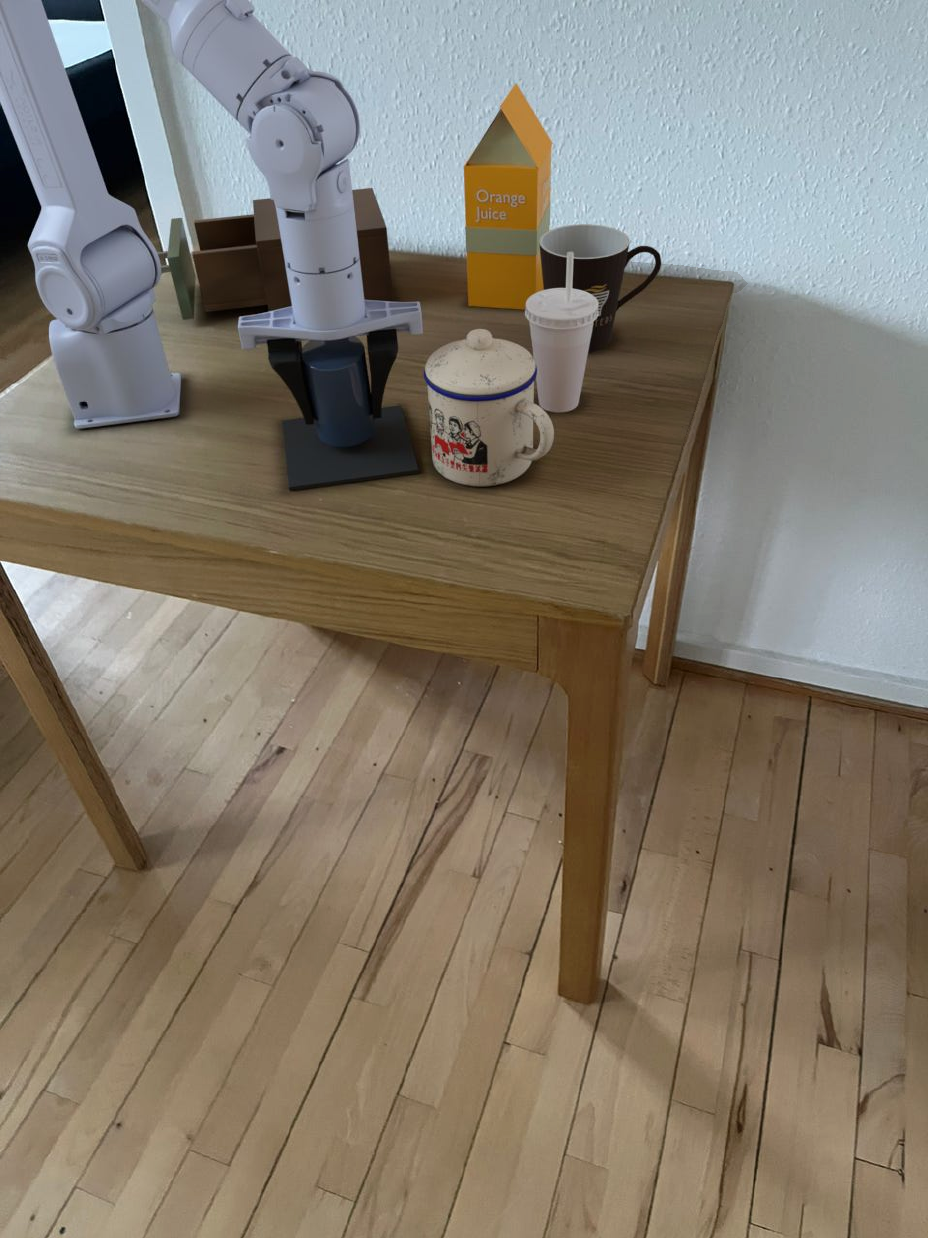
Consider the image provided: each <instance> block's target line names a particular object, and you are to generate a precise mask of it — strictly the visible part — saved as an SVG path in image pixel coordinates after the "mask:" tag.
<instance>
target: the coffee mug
mask: <svg viewBox="0 0 928 1238" xmlns="http://www.w3.org/2000/svg"><path fill="white" fill-rule="evenodd" d="M630 243H631V242H630V238H629V236H628V235H627V234H626V233H624V232H623V231H621V230H619V229H616V228H614V227H610V226H606V225H601V224H592V223H591V224H589V223H587V224H586V223H579V224H569V225H563V226H558V227H555V228H552V229H549V231H548V232H546V233H544V234H543V235H542V236H541V238H540V240H539V245H540V256H541V267H542V277H543V288H544V290H547V289H553V288H566V269H567V252H573V253H574V259H573V283H572V289H578V290H582V291H585V292H588V293H590V294H591V295H593V296H594V297H595V298H596V299H597V300H598V303H599V305H598V313H599V315H598V317H597V319H596V320H595V321H594V323H593V329H592V334H591V339H590V344H589V350H588V354H589V353H594V352H597V351H600V350H602V349H604V348H606V347H608V346H609V344H610V342H611V339H612V334H613V330H614V324H615V319H616V314H617V312H618V310H619V309H620V308H621V307H622V306H624V305H625V304H626V303H628V302H629V301H631V300H632V299H633V298H635V297H636V296H637V295H639V294H640V293H641V292H643V291H644V290H645V289H646V288H647V287H648V286H649V285H650V284H651V283H652V282H653V281H654V280H655V278H656V277H657V275H658V274H659V272H660V271H661V267H662V259H661V258H662V257H661V254H660V252H659V251H658V250H657V249H655V248H654V247H653V246H649V245H639V246H636V247H634V248H632V249H630V250H629V248H630ZM641 253H642V254H643V253H648V254H650V255H652V256H653V257H654V261H655V263H654V267H653V270H652V271H651V273H650V274H649V275H648V276H647V278H646V279H645V280H644V281H643V282H642V283H641V284H639V285H638V286H636V287H635V288H634V289H633V290H631V291H629V292H628V293H627V294H626V295H625V296H623V297H621V298H619V297H620V295H621V289H622V283H623V278H624V274H625V269H626V268H627V266H628V264H629V262H630V261H631V260H632V259H633V258H634V257H635V256H637V255H638V254H639V255H640V254H641Z"/></svg>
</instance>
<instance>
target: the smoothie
mask: <svg viewBox="0 0 928 1238" xmlns="http://www.w3.org/2000/svg"><path fill="white" fill-rule="evenodd" d="M573 259H574V253H573V252H567V269H566V288H553V289H547V290H543V291H540V292H537V293H535V294H533V295H532V296H530V297H529V298H528V299H527V301H526V310H524V316H525V318H526V320H527V321H528V322H529V330H530V331H529V332H530V339H531V346H532V347H531V348H532V357H533V359H534V361H535V364H536V366H537V375H536V378H535V381H536V389H537V391H536V392H537V398H538V406H539V407H541V408H542V409H543V410H544V411H546V412H547V411H548V412H551V413H567V412H570V411H571V412H572V411H573V410H575V409H576V408H577V407H578V406H579V404H580V397H581V392H582V387H583V381H584V376H585V371H586V365H587V359H588V356H589V353H588V350H589V344H590V339H591V334H592V329H593V323H594V321H595V320H596V319H597V317H598V315H599V313H598V305H599V303H598V300H597V299H596V298H595V297H594V296H593V295H591V294H590V293H588V292H585V291H582V290H578V289H572V283H573Z"/></svg>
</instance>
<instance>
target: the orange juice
mask: <svg viewBox="0 0 928 1238" xmlns="http://www.w3.org/2000/svg"><path fill="white" fill-rule="evenodd" d="M553 145H554V144H553V141H552V140H551V138H550V136H549V135H548V132H547V131H546V130H545V127H544V126H543V125H542V123H541V121H540V119H539V118H538V117H537V114H536V113H535V112H534V110H533V108H532V106H531V105H530V103H529V102H528V99H527V98H526V96H525V95H524V93H523V92H522V90H521V88H520V87H519V85H518V83H517V82H515V84H514V85H513V87H512V88H511V89H510V91H509V92H508V94H506V97H505V98H504V100H503V101H502V103H501V104H500V105H499V110H498V112H497V114H496V115H495V117H494V119H492V121H491V123H490V125H489V127H488V128H487V130H486V132H485V133H484V134H483V136H482V137H481V139H480V140H479V142H478V144H477V146H476V147H475V149H474V150H473V151H472V153H471V155H470V156H469V157H468V159H467V161H466V162H465V163H464V165H463V188H464V215H465V217H464V219H465V228H464V233H465V252H466V275H467V277H466V278H467V302H468V304H467V305H468V307H480V308H495V309H509V310H511V309H512V310H523V311H525V310H526V301H527V299H528V298H529V297H530V296H532V295H533V294H535V293H537V292H540V291H543V290H544V288H543V277H542V267H541V256H540V245H539V240H540V238H541V236H542V235H543V234H544V233H546V232H548V231H550V226H551V185H552V184H551V180H552V147H553Z"/></svg>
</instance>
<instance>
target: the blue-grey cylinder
mask: <svg viewBox="0 0 928 1238" xmlns="http://www.w3.org/2000/svg"><path fill="white" fill-rule="evenodd" d="M301 359H302V364H303V369H304V373H305V378H306V383H307V388H308V393H309V397H310V402H311V406H312V411H313V416H314V422H315V426H316V431H317V435H318V437H319V438H320V439H321V440H322V441H323V442H325V443H326V444H328V445H331V446H336V447H349V446H354V445H357V444H360V443H362V442H364V441H365V440H367V439H368V438H369V437H370V436H371V435H372V434H373V432H374V430H375V419H373V411H372V397H371V382H370V376H369V370H368V369H369V368H368V363H367V362H368V361H367V355H366V350H365V345H364V343H363V341H362V340H361V339H360V338H359V337H358V336H351V337H347V338H342V339H337V340H324V341H323V340H308V341H307V342H306V343H305V344H304V345H303V346H302V351H301Z"/></svg>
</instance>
